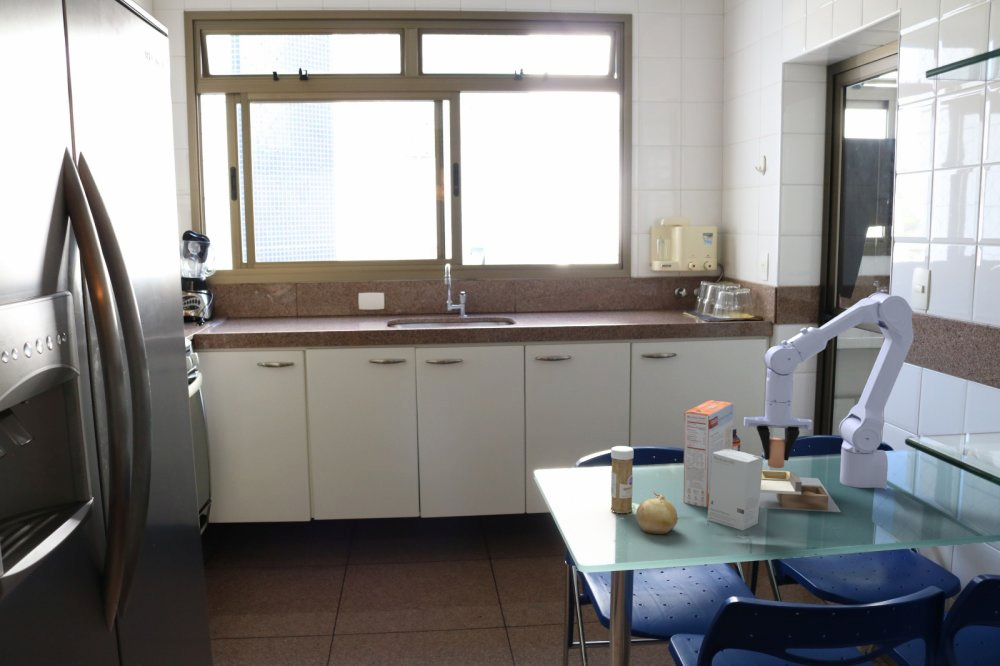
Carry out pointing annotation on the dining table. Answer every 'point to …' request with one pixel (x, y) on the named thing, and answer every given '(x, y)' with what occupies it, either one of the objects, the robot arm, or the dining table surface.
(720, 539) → the dining table surface
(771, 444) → the dowel pin
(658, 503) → the onion
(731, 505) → the skincare box
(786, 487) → the lid
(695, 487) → the cracker box
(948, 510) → the dining table surface
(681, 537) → the dining table surface
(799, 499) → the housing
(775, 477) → the board
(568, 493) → the dining table surface
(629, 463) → the sprinkles bottle
